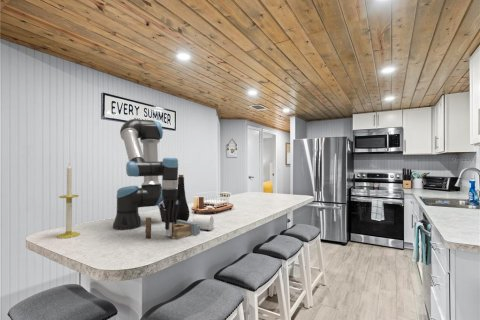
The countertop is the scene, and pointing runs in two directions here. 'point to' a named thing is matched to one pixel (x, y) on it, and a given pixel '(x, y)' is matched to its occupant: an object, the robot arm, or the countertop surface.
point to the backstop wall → (194, 227)
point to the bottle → (182, 201)
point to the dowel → (148, 228)
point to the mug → (204, 221)
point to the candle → (69, 207)
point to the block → (180, 230)
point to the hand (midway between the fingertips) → (168, 235)
